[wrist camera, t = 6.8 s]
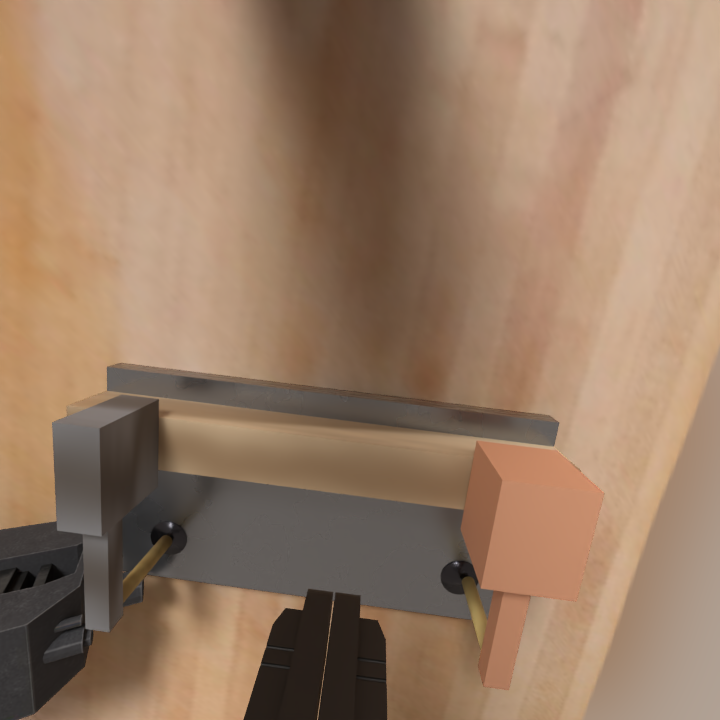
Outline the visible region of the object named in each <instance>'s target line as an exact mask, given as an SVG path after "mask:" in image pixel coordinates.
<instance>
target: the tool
mask: <svg viewBox="0 0 720 720" xmlns="http://www.w3.org/2000/svg"><path fill="white" fill-rule="evenodd" d="M130 572H131V571H129V572H124V573H123V580H124V579H125V578H126V577H127V575H128V574H129V573H130ZM143 591H144V579H143V580H142V581H141V582H140V583H139V585H138V586H137V587H136V588H135V590H134V591H133V592H132V593H131V594H130V596H129V597H128V598H127V599H126V601H125V602H124V603H123V607H125V606H128V605H132V604H136V603H140V602H142V601H143ZM92 641H93V630H89V629H86V628H85V595H84V562H83V534H79V533H72V532H64V531H57V521H56V522H49V523H42V524H36V525H29V526H22V527H16V528H9V529H3V530H0V720H19V719H21V718H24V717H27V716H30V715H32V714H35V713H36V712H37V711H38V710H39V709H40V708H41V707H42V706H43V705H44V704H45V703H46V702H48V701H49V700H50V699H51V698H52V697H53V696H54V695H55V694H56V693H57V692H58V691H59V690H60V689H61V688H62V687H63V686H64V685H66V684H67V683H68V682H69V681H70V680H71V679H72V678H73V677H74V676H75V675H76V674H77V673H78V672H79V671H80V670H81V669H82V668H84V667H85V663H86V658H87V653H88V649H89V646H90V645H92Z"/></svg>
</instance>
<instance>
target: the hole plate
mask: <svg viewBox="0 0 720 720" xmlns="http://www.w3.org/2000/svg"><path fill="white" fill-rule="evenodd" d="M107 391H113V392H121V393H129V394H137V395H145V396H153V397H161V398H169V399H177V400H185V401H193V402H201V403H209V404H217V405H225V406H233V407H241V408H249V409H257V410H265V411H273V412H281V413H289V414H297V415H305V416H313V417H321V418H329V419H337V420H345V421H353V422H361V423H369V424H377V425H385V426H393V427H401V428H409V429H417V430H425V431H433V432H441V433H448V434H456V435H464V436H472V437H480V438H488V439H496V440H504V441H512V442H520V443H528V444H536V445H544V446H552V447H554V444H555V439H556V435H557V431H558V426H559V422H558V421H556V420H555V419H554V418H552V417H551V416H547V415H539V414H531V413H523V412H515V411H507V410H499V409H491V408H482V407H474V406H466V405H458V404H450V403H442V402H434V401H425V400H417V399H409V398H401V397H393V396H385V395H377V394H369V393H360V392H352V391H344V390H336V389H328V388H320V387H312V386H303V385H295V384H287V383H279V382H271V381H263V380H255V379H246V378H238V377H230V376H222V375H214V374H206V373H198V372H190V371H181V370H173V369H165V368H157V367H149V366H141V365H133V364H124V363H119V364H115V365H112V366H108V367H107ZM463 513H464V510H461V509H453V508H445V507H438V506H430V505H422V504H415V503H407V502H399V501H392V500H384V499H377V498H369V497H361V496H354V495H346V494H338V493H331V492H323V491H316V490H308V489H300V488H293V487H285V486H277V485H270V484H262V483H255V482H247V481H239V480H232V479H224V478H216V477H209V476H201V475H194V474H186V473H178V472H171V471H163V470H158V487H157V488H156V489H155V490H154V491H153V492H152V493H150V494H149V495H148V496H147V497H146V498H145V499H144V500H142V501H141V502H140V503H139V504H138V505H137V506H136V507H135V508H133V509H132V510H131V511H130V512H129V513H128V514H127V515H126V516H124V517H123V518H122V533H123V571H125V572H129V571H132V570H133V569H134V568H135V566H136V565H137V564H138V563H139V562H140V561H141V560H142V558H143V557H144V556H145V555H146V554H147V553H148V552H149V551H150V549H151V548H152V547H153V546H154V545H155V544H156V543H157V542H158V540H159V539H160V538H161V537H162V536H164V535H167V536H170V537H171V538H172V544H171V546H170V547H169V548H168V549H167V551H166V552H165V553H164V554H163V555H162V557H161V558H160V559H159V560H158V561H157V563H156V564H155V565H154V566H153V568H152V569H151V570H150V571H149V572H148V574H147V575H154V576H161V577H168V578H175V579H182V580H189V581H197V582H204V583H211V584H218V585H225V586H232V587H240V588H247V589H254V590H261V591H268V592H275V593H283V594H290V595H297V596H304V597H306V595H307V591H308V589H315V590H323V591H330V592H333V601H334V600H335V593H336V592H339V593H346V594H354V595H361V601H360V604H361V605H368V606H376V607H383V608H390V609H397V610H404V611H411V612H419V613H426V614H433V615H440V616H447V617H454V618H462V619H469V620H472V617H471V614H470V610H469V607H468V603H467V600H466V596H465V593H464V589H463V585H462V579H463V578H464V577H468V576H469V577H472V578H473V579H474V581H475V584H476V587H477V590H478V593H479V596H480V599H481V602H482V605H483V608H484V611H485V614H486V617H487V620H488V615H489V610H490V605H491V601H492V596H493V591H494V590H487V589H481V588H480V585H479V582H478V579H477V576H476V573H475V570H474V567H473V564H472V561H471V558H470V555H469V552H468V550H467V547H466V544H465V541H464V538H463V535H462V532H461V523H462V518H463Z"/></svg>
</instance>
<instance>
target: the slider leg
mask: <svg viewBox="0 0 720 720" xmlns="http://www.w3.org/2000/svg"><path fill="white" fill-rule="evenodd" d="M603 497H604V492H602V491H601V490H600V489H599V488H598V487H597V486H596V485H595V484H594V483H592V482H591V481H590V480H589V479H588V478H587V477H586V476H585V475H584V474H582V473H581V472H580V471H579V470H578V469H577V468H576V467H575V466H574V465H572V464H571V463H570V462H569V461H568V460H567V459H566V458H565V457H563V456H562V455H561V454H560V453H559V452H558V451H557V450H549V449H541V448H533V447H525V446H517V445H509V444H501V443H493V442H485V441H476V447H475V452H474V458H473V463H472V469H471V474H470V480H469V485H468V491H467V496H466V502H465V507H464V513H463V518H462V523H461V532H462V535H463V538H464V541H465V544H466V547H467V550H468V552H469V555H470V558H471V561H472V564H473V567H474V570H475V573H476V576H477V579H478V582H479V585H480V588H481V589H487V590H494V591H493V596H492V601H491V605H490V610H489V615H488V620H487V617H486V614H485V611H484V608H483V605H482V602H481V599H480V596H479V593H478V590H477V587H476V584H475V581H474V579H473V578H472V577H469V576H468V577H464V578H463V579H462V585H463V589H464V593H465V596H466V600H467V603H468V607H469V610H470V614H471V617H472V621H473V624H474V628H475V631H476V635H477V638H478V642H479V646H480V649H481V653H480V658H479V663H478V668H479V671H480V675H481V679H482V683H483V687H490V688H497V689H504V690H509V687H510V683H511V679H512V674H513V670H514V666H515V661H516V657H517V653H518V648H519V644H520V639H521V635H522V631H523V626H524V622H525V618H526V613H527V609H528V605H529V600H530V596H539V597H546V598H553V599H560V600H568V601H575V602H576V601H577V598H578V594H579V590H580V586H581V582H582V578H583V574H584V570H585V567H586V563H587V559H588V555H589V551H590V547H591V543H592V540H593V536H594V532H595V528H596V524H597V520H598V516H599V512H600V509H601V505H602V501H603Z"/></svg>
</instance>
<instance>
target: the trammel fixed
mask: <svg viewBox="0 0 720 720" xmlns="http://www.w3.org/2000/svg"><path fill="white" fill-rule="evenodd" d="M52 428H53V450H54V473H55V495H56V517H57V531H64V532H72V533H79V534H83V562H84V595H85V628H86V629H89V630H96V631H103V632H110V631H111V630H112V628H113V627H114V626H115V625H116V623H117V622H118V621H119V620H120V618H121V617H122V616H123V603H124V602H125V601H126V599H127V598H128V597H129V596H130V594H131V593H132V592H133V591H134V590H135V588H136V587H137V586H138V585H139V583H140V582H141V581H142V580H143V579H144V577H145V576H146V575H147V574H148V572H149V571H150V570H151V569H152V568H153V566H154V565H155V564H156V563H157V561H158V560H159V559H160V558H161V557H162V555H163V554H164V553H165V552H166V551H167V549H168V548H169V547H170V546H171V544H172V538H171V537H170V536H167V535H164V536H162V537H161V538H160V539H159V540H158V542H157V543H156V544H155V545H154V546H153V547H152V548H151V549H150V551H149V552H148V553H147V554H146V555H145V556H144V557H143V558H142V560H141V561H140V562H139V563H138V564H137V565H136V566H135V568H134V569H133V570H132V571H131V572H130V573H129V574H128V575H127V577H126V578H125V579H124V580H123V533H122V518H123V517H124V516H126V515H127V514H128V513H129V512H130V511H131V510H132V509H133V508H135V507H136V506H137V505H138V504H139V503H140V502H141V501H142V500H144V499H145V498H146V497H147V496H148V495H149V494H150V493H152V492H153V491H154V490H155V489H156V488H157V487H158V470H163V471H171V472H178V473H186V474H194V475H201V476H209V477H216V478H224V479H232V480H239V481H247V482H255V483H262V484H270V485H277V486H285V487H293V488H300V489H308V490H316V491H323V492H331V493H338V494H346V495H354V496H361V497H369V498H377V499H384V500H392V501H399V502H407V503H415V504H422V505H430V506H438V507H445V508H453V509H461V510H464V507H465V502H466V496H467V491H468V485H469V480H470V474H471V469H472V463H473V458H474V452H475V447H476V441H485V442H493V443H501V444H509V445H517V446H525V447H533V448H541V449H549V450H557V449H556V448H555V447H552V446H544V445H536V444H528V443H520V442H512V441H504V440H496V439H488V438H480V437H472V436H464V435H456V434H448V433H441V432H433V431H425V430H417V429H409V428H401V427H393V426H385V425H377V424H369V423H361V422H353V421H345V420H337V419H329V418H321V417H313V416H305V415H297V414H289V413H281V412H273V411H265V410H257V409H249V408H241V407H233V406H225V405H217V404H209V403H201V402H193V401H185V400H177V399H169V398H161V397H153V396H145V395H137V394H129V393H121V392H113V391H105V392H103V393H100V394H97V395H94V396H92V397H89V398H86V399H84V400H81V401H78V402H75V403H73V404H70V405H67V417H64V418H62V419H59V420H57V421H54V422H52ZM557 451H558V450H557ZM558 452H559V451H558ZM559 453H560V452H559ZM560 454H561V455H562V456H563V457H565V456H564V455H563V454H562V453H560ZM565 458H566V457H565ZM566 459H567V458H566ZM567 460H568V459H567ZM568 461H569V460H568ZM569 462H570V461H569ZM570 463H571V464H572V465H574V464H573V463H572V462H570ZM574 466H575V465H574ZM575 467H576V466H575ZM576 468H577V467H576ZM577 469H578V468H577ZM578 470H579V469H578ZM579 471H580V472H581V470H579Z"/></svg>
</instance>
